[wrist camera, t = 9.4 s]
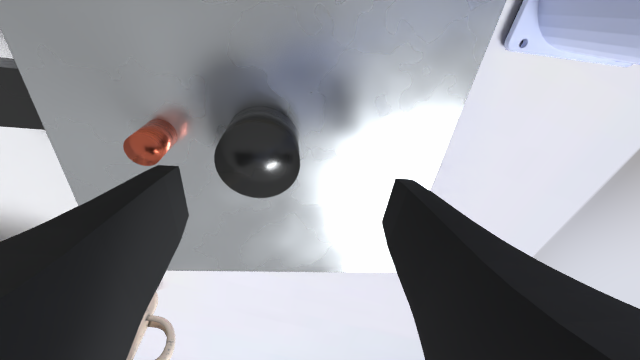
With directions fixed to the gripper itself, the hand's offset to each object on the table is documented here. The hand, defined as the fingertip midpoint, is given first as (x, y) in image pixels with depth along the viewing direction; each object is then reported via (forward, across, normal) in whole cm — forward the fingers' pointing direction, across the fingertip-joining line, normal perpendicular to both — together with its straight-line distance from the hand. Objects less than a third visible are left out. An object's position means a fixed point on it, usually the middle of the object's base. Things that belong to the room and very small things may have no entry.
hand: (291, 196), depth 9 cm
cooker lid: (+4, +1, -1) cm, 4 cm away
